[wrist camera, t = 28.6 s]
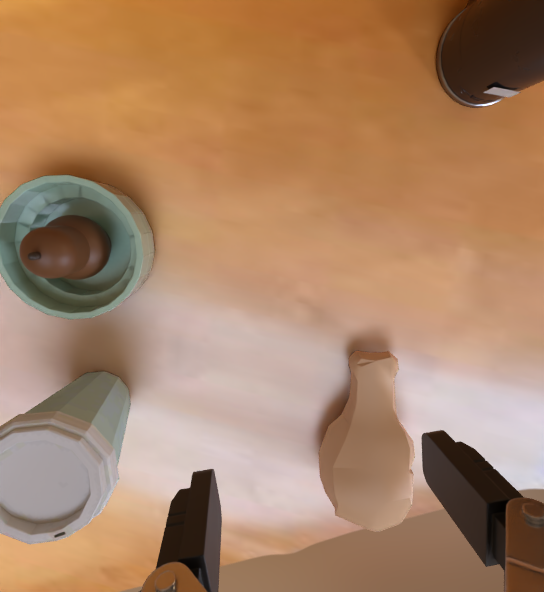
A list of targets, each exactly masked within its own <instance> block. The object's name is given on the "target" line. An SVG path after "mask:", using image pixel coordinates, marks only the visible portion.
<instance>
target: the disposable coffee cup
mask: <svg viewBox="0 0 544 592" xmlns="http://www.w3.org/2000/svg"><path fill="white" fill-rule="evenodd" d="M130 405H131V403H130V395H129V389H128V387H127V386H126V385H125V384H124V382H123V381H122V380H121V379H120V378H119V377H118V376H116V375H113V374H111V373H108V372H106V371H103V372H91V373H85V374H84V375H82V376H81V377H79V378H78V379H76V380H75V381H73V382H72V383H70V384H69V385H67V386H66V387H64V388H63V389H61V390H60V391H58V392H56V393H55V394H53V395H52V396H50V397H49V398H47V399H46V400H44V401H43V402H41V403H40V404H38V405H37V406H35V407H34V408H32V409H31V410H29V411H28V412H26V413H25V414H19V415H17V416H16V417H14V418H13V419H11V420H10V421H8V422H7V423H5V424H3V425H2V426H0V533H1V534H4V535H6V536H9V537H11V538H14V539H17V540H19V541H22V542H25V543H27V544H35V543H43V542H50V541H57V540H60V539H63V538H66V537H68V536H70V535H72V534H73V533H75V532H76V531H78V530H79V529H81V528H83V527H84V526H86V525H87V524H89V523H90V522H91V520H92V518H94V517H95V516H97V515H99V514H100V513H101V511H102V510H103V508H104V507H105V506H106V504H107V502H108V500H109V498H110V496H111V494H112V492H113V490H114V488H115V486H116V484H117V482H118V480H119V474H118V468H117V466H118V462H119V457H120V452H121V448H122V443H123V438H124V433H125V429H126V424H127V419H128V414H129V410H130Z"/></svg>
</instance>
